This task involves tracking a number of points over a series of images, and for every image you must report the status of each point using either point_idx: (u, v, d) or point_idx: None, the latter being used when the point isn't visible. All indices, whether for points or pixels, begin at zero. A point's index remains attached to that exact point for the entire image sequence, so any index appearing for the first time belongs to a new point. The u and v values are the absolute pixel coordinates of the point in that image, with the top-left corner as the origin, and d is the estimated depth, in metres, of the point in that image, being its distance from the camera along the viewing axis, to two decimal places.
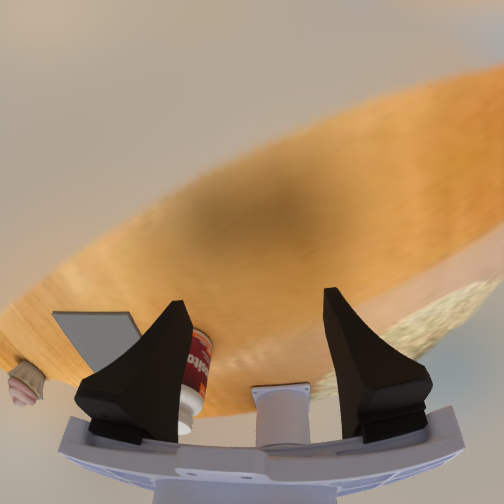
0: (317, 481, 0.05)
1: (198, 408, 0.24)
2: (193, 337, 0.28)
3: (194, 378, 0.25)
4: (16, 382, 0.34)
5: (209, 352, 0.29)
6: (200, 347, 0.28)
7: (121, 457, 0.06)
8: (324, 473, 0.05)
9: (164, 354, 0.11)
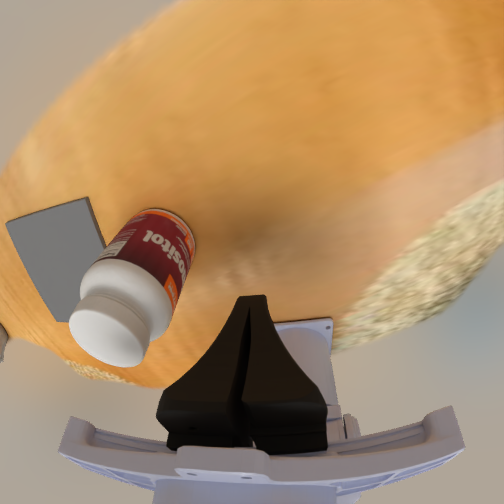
0: (317, 481, 0.05)
1: (160, 315, 0.15)
2: (167, 219, 0.20)
3: (159, 263, 0.16)
4: None
5: (190, 246, 0.21)
6: (176, 232, 0.19)
7: (121, 457, 0.06)
8: (324, 473, 0.05)
9: (244, 353, 0.11)
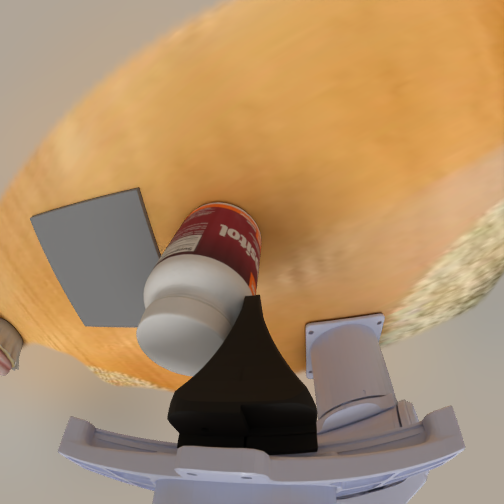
0: (317, 481, 0.05)
1: None
2: (236, 213, 0.19)
3: (241, 260, 0.15)
4: None
5: (259, 243, 0.20)
6: (248, 227, 0.19)
7: (121, 457, 0.06)
8: (324, 473, 0.05)
9: None
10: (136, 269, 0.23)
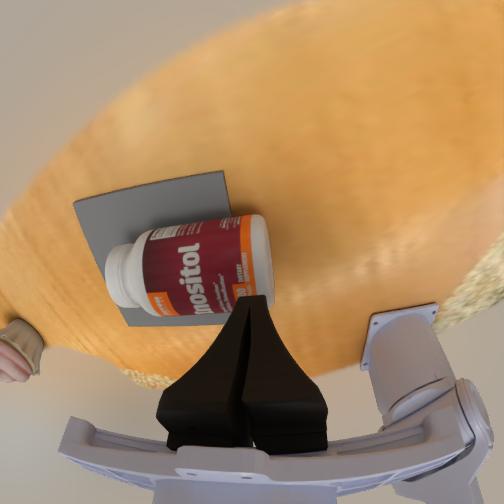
0: (317, 481, 0.05)
1: (139, 303, 0.17)
2: (238, 249, 0.16)
3: (161, 277, 0.16)
4: (2, 346, 0.24)
5: (240, 295, 0.16)
6: (226, 270, 0.16)
7: (121, 457, 0.06)
8: (324, 473, 0.05)
9: (244, 353, 0.11)
10: None
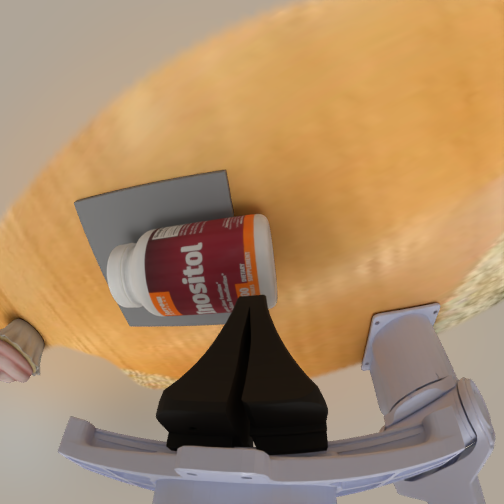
0: (317, 481, 0.05)
1: (141, 303, 0.17)
2: (241, 248, 0.16)
3: (164, 276, 0.16)
4: (3, 346, 0.24)
5: (243, 295, 0.16)
6: (229, 269, 0.16)
7: (121, 457, 0.06)
8: (324, 473, 0.05)
9: (244, 353, 0.11)
10: None
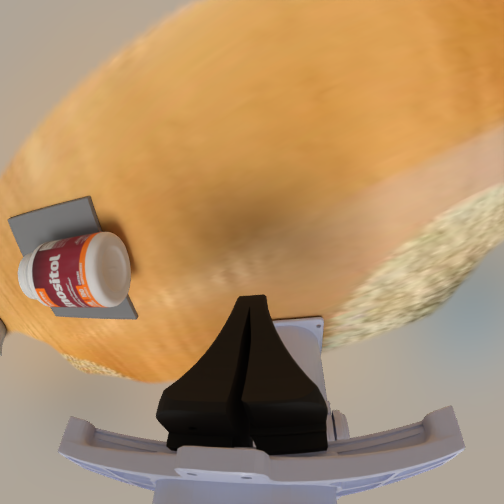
0: (317, 481, 0.05)
1: (35, 296, 0.20)
2: (78, 260, 0.18)
3: (40, 277, 0.19)
4: None
5: (82, 294, 0.19)
6: (71, 274, 0.18)
7: (121, 457, 0.06)
8: (324, 473, 0.05)
9: (244, 353, 0.11)
10: None
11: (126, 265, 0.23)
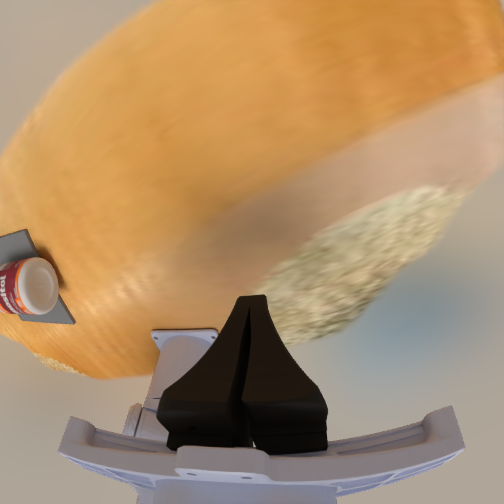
0: (317, 481, 0.05)
1: None
2: (14, 280, 0.21)
3: None
4: None
5: (19, 304, 0.21)
6: (11, 290, 0.21)
7: (121, 457, 0.06)
8: (324, 473, 0.05)
9: (244, 353, 0.11)
10: None
11: (53, 282, 0.26)
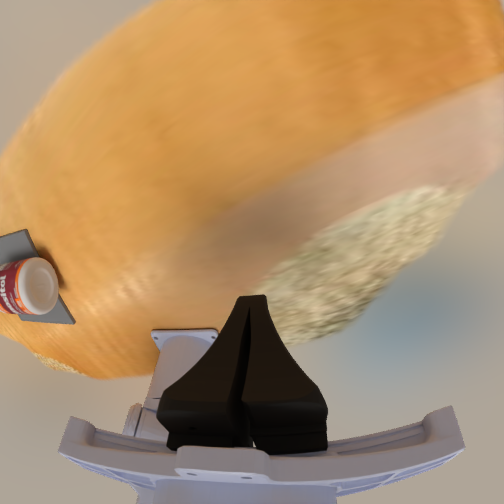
0: (317, 481, 0.05)
1: None
2: (14, 280, 0.21)
3: None
4: None
5: (19, 304, 0.21)
6: (11, 290, 0.21)
7: (121, 457, 0.06)
8: (324, 473, 0.05)
9: (244, 353, 0.11)
10: None
11: (53, 282, 0.26)
